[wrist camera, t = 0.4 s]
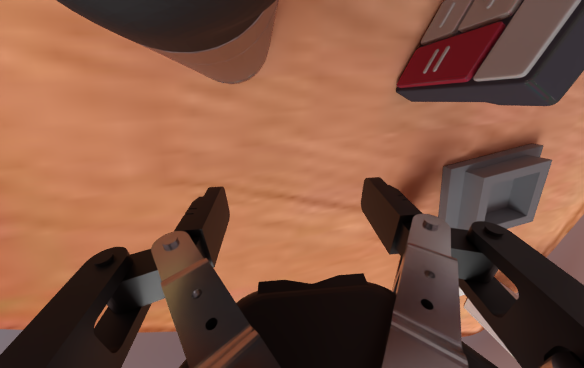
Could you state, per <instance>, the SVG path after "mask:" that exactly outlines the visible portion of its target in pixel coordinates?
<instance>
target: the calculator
mask: <svg viewBox="0 0 584 368" xmlns="http://www.w3.org/2000/svg"><path fill="white" fill-rule="evenodd" d="M421 44H422V45H421V46H420V48H418V49H417V50H416V51H415V53H414V54H413V56H412V58H411V60H410V61H409V63H408V65H407V67H406V69H405V70H404V72H403V74H402V76H401V77H400V79H399V81H398V83H397V86H398V87H397V89H396V92H397V93H399V94H400V95H402V96H403V97H405V98H406V99H408V100H410V101H412V102H488V103H492V104H497V105H520V106H550V105H553V104H556V103H557V102H558V101H559V100H560V99H561V98H562V97H563V96H564V94H565V93H566V92H567V91H568V89H569V88H570V87H571V86H572V84H573V83H574V82H575V81H576V80H577V78H578V77H579V76H580V75H581V73H582V72H583V71H584V0H445V1H444V2H443V3H442V5H441V6H440V8H439V10H438V12H437V13H436V15H435V17H434V19H433V21H432V22H431V24H430V26H429V28H428V29H427V31H426V33H425V35H424V37H423V38H422V40H421Z"/></svg>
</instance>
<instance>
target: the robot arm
mask: <svg viewBox="0 0 584 368" xmlns="http://www.w3.org/2000/svg"><path fill="white" fill-rule="evenodd" d="M57 1H58V2H60V3H61V4H63V5H65V6H66V7H68V8H69V9H71V10H72V11H74V12H76V13H78V14H79V15H81V16H83V17H85V18H86V19H88V20H90V21H92V22H94V23H96V24H98V25H100V26H102V27H104V28H106V29H108V30H110V31H112V32H114V33H116V34H118V35H120V36H123V37H125V38H127V39H129V40H131V41H134V42H136V43H138V44H140V45H142V46H144V47H147V48H149V49H151V50H153V51H155V52H157V53H159V54H161V55H164V56H166V57H168V58H170V59H172V60H174V61H176V62H178V63H180V64H182V65H184V66H186V67H188V68H191V69H193V70H195V71H197V72H199V73H201V74H203V75H205V76H207V77H209V78H211V79H213V80H216V81H218V82H222V83H228V84H235V83H241V82H244V81H247V80H249V79H250V78H252V77H253V76H254V75H255V74H256V73H257V72H258V71H259V70H260V69H261V67H262V65H263V64H264V62H265V59H266V56H267V53H268V48H269V44H270V39H271V34H272V29H273V24H274V20H275V15H276V10H277V5H278V0H57ZM361 208H362V211H363V213H364V214H365V216H366V217H367V219H368V221H369V222H370V224H371V226H372V227H373V229H374V230H375V232H376V234H377V235H378V237H379V239H380V240H381V242H382V243H383V245H384V247H385V248H386V250H387V251H388V253H389V254H400V256H401V257H400V260H399V264H398V268H397V272H396V276H395V280H394V284H393V288H392V291H391V290H389V289H387V288H385V287H382V286H380V285H377V284H374V283H370V282H367V281H366V279H365V276H364V274H363V273H362V274H350V275H338V276H335V277H332V278H329V279H326V280H323V281H320V282H318V283H314V284H308V283H302V282H295V281H289V280H277V281H265V282H259V284H258V291H256V292H253V293H251V294H249V295H247V296H246V297H244V298H242V299H241V300H239V301H238V302H237V303H236V302H235V301H234V299H233V298H232V296H231V295H230V293H229V292H228V290H227V289H226V287H225V286H224V284H223V282H222V281H221V279H220V278H219V276H218V275H217V273H216V272H215V270H214V269H213V268H214V267H215V264H216V260H217V257H218V254H219V251H220V248H221V244H222V241H223V238H224V235H225V232H226V228H227V225H228V222H229V217H230V213H229V207H228V202H227V198H226V193H225V189H224V187H209V188H208V189H207V191H206V193H205V195H204V196H203V197H199V198H197V199H196V200H195V201H193V202H192V204H191V205H190V207H189V208H188V210H187V211H186V213H185V215H184V216H183V218H182V219H181V221H180V222H179V224H178V226H177V227H176V229H175V230H174V232H170V233H168V234H165V235H163V236H162V237H160V238H159V239H157V240H156V241H155V242H154V244H153V245H152V247H151V249H149V250H145V251H142V252H138V253H135V254H131V255H130V254H129V252H128V251H127V249H126V248H124V247H113V248H109V249H107V250H104V251H102V252H100V253H98V254H96V255H94V256H93V257H91V258H90V259H89V260H88V261H87V262H86V263H85V264H84V265H83V266H82V267H81V268H80V269H79V270H78V271H77V272H76V273H75V274H74V275H73V277H72V278H71V279H70V280H69V281H68V282H67V283H66V284H65V285H64V286H63V287H62V288H61V290H60V291H59V292H58V293H57V294H56V295H55V296H54V297H53V298H52V299H51V300H50V302H49V303H48V304H47V305H46V306H45V307H44V308H43V309H42V310H41V311H40V312H39V313H38V315H37V316H36V317H35V318H34V319H33V320H32V321H31V322H30V323H29V324H28V325H27V327H26V328H25V329H24V330H23V331H22V332H21V333H20V334H19V335H18V336H17V337H16V339H15V340H14V341H13V342H12V343H11V344H10V345H9V346H8V347H7V348H6V349H5V350H4V352H3V353H2V354H1V355H0V368H121V367H122V364H123V363H124V360H125V358H126V356H127V354H128V352H129V350H130V348H131V346H132V344H133V341H134V339H135V337H136V335H137V333H138V331H139V329H140V327H141V325H142V322H143V320H144V318H145V316H146V314H147V312H148V310H149V308H150V306H151V303H153V302H156V301H158V300H161V299H164V298H166V301H167V304H168V307H169V310H170V313H171V316H172V319H173V322H174V325H175V328H176V331H177V333H178V336H179V339H180V342H181V345H182V348H183V351H184V354H185V357H186V360H185V361H184V362H183V363H182V365H181V366H180V367H179V368H498V367H497V366H495V365H494V364H492V363H491V362H490V361H488V360H487V359H486V358H484V357H483V356H481V355H480V354H479V353H477V352H476V351H475V350H473V349H472V348H470V347H469V346H468V345H466V344H465V343H464V342H462V341H461V320H460V299H459V287H460V289H461V290H462V291H463V292H464V294H465V295H466V296H467V298H468V299H469V300H470V301H471V303H472V304H473V305H474V307H475V308H476V309H477V310H478V312H479V313H480V314H481V316H482V317H483V318H484V319H485V321H486V322H487V323H488V325H489V326H490V327H491V328H492V330H493V331H494V332H495V333H496V335H497V336H498V337H499V339H500V340H501V341H502V342H503V344H504V345H505V346H506V348H507V349H508V350H509V351H510V353H511V354H512V355H513V357H514V358H515V359H516V360H517V362H518V363H519V364H520V366H521V367H522V368H584V285H582V284H581V283H580V282H578V281H577V280H576V279H574V278H573V277H572V276H570V275H569V274H567V273H566V272H565V271H564V270H562V269H561V268H559V267H558V266H557V265H555V264H554V263H553V262H551V261H550V260H548V259H547V258H546V257H544V256H543V255H542V254H540V253H539V252H538V251H536V250H535V249H534V248H532V247H531V246H529V245H528V244H527V243H525V242H524V241H523V240H521V239H520V238H519V237H517V236H516V235H514V234H513V233H512V232H510V231H509V230H507V229H505V228H504V227H502V226H499V225H497V224H494V223H490V222H485V221H476V222H473V223H472V224H471V226H470V228H469V230H464V229H456V228H450V226H449V225H448V223H447V222H445V221H444V220H442V219H441V218H439V217H436V216H433V215H429V214H423V213H422V212H420V211H419V210H418V209H417V208H416V207H415V206H414V205H413V204H412V203H411V202H410V201H409V200H408V199H407V198H406V197H405V196H403V194H402V193H401V192H400V191H399V190H398V189H396V188H394V187H392V186H390V185H387V184H386V183H385V182H384V181H383V180H382V179H381V178H380V177H375V178H366V179H365V180H364V185H363V192H362V198H361ZM498 269H499V270H500V271H501V272H502V273H504V274H505V275H506V276H507V277H508V278H509V279H510V280H511V281H512V282H513V283H514V284H515V286H516V287H517V289H518V292H519V297H518V299H517V300H516V299H515V298H514V297H513V296H512V295H511V294H510V293H509V292H508V291H507V290H506V289H505V288H504V286H503V285H502V284H501V283H500V282H499V281H498V280H497V279H496V278H495V277H494V275H495V274H496V272H497V271H498ZM106 304H107V305H108V308H107V309H106V311H105V313H104V314H103V316H102V317H101V319H100V320H99V322H98V323H97V325H96V326H95V328H94V325H95V322H96V320H97V318H98V316H99V315H100V313H101V312H102V310H103V309H104V307H105V306H106Z"/></svg>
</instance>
